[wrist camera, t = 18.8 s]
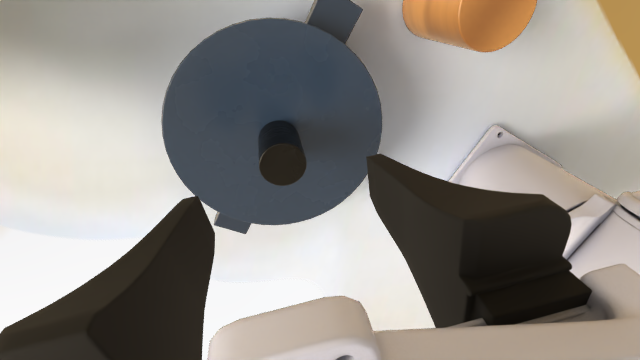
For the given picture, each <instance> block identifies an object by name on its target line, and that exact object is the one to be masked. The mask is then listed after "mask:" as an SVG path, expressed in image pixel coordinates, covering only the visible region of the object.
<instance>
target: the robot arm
mask: <svg viewBox="0 0 640 360" xmlns="http://www.w3.org/2000/svg"><path fill="white" fill-rule="evenodd" d="M498 133H500V134H499V135H498ZM497 135H498V136H497ZM366 159H367V169H368V180H369V191H370V197H371V200H372V202H373V204H374V207H375V209H376V211H377V213H378V215H379V217H380V218H381V220H382V222H383V223H384V225H385V227H386V228H387V230H388V231H389V233H390V235H391V236H392V238H393V239H394V241H395V243H396V244H397V246H398V248H399V249H400V251H401V252H402V254H403V256H404V258H405V260H406V262H407V264H408V266H409V268H410V270H411V272H412V274H413V276H414V279H415V281H416V283H417V285H418V287H419V290H420V292H421V294H422V296H423V299H424V301H425V303H426V305H427V308H428V310H429V313H430V315H431V317H432V320H433V322H434V324H435V327H436V328H429V329H407V330H385V331H373V330H372V327H371V324H370V321H369V318H368V315H367V313H366V311H365V309H364V308H363V306H362V304H361V303H360V302H359V301H356V300H353V299H351V298H348V297H345V296H334V297H323V298H320V299H316V300H312V301H308V302H305V303H300V304H297V305H293V306H289V307H285V308H281V309H277V310H273V311H270V312H266V313H262V314H259V315H254V316H250V317H246V318H243V319H239V320H237V321H234V322H232V323H230V324H228V325H226V326H224V327H222V328H220V329H219V331H217V333H216V334H215V336H213V338H212V339H211V340H210V343H209V351H208V358H207V360H640V191H636V192H632V193H631V192H624V193H622V194H621V195H620V196H619V197H618V198H617V199H614V198H613V197H611V196H609V195H607V194H606V193H604V192H602V191H600V190H598V189H597V188H595V187H593V186H591V185H590V184H588V183H586V182H584V181H582V180H581V179H579V178H577V177H575V176H574V175H572V174H570V173H568V172H566V171H565V170H563V169H562V165H561V164H559V163H558V162H556V161H555V160H553V159H551V158H550V157H548V156H546V155H545V154H543V153H542V152H540V151H538V150H537V149H535V148H534V147H532V146H530V145H529V144H527V143H525V142H524V141H522V140H521V139H519V138H517V137H516V136H514V135H512V134H511V133H509V132H508V131H506V130H504V129H503V128H501V127H499V126H497V125H494V126H492V127H491V128H490V129H489V130H488V131H487V133H486V134H485V135H484V136H483V138H482V139H481V140H480V141H479V143H478V144H477V145H476V147H475V148H474V149H473V150H472V152H471V153H470V154H469V156H468V157H467V158H466V159H465V161H464V162H463V163H462V164H461V166H460V167H459V168H458V170H457V171H456V172H455V173H454V175H453V176H452V177H451V179H450V180H449V181H445V180H441V179H438V178H435V177H432V176H430V175H427V174H424V173H422V172H419V171H417V170H414V169H412V168H410V167H408V166H406V165H403V164H401V163H399V162H397V161H395V160H393V159H391V158H389V157H387V156H384V155H382V154H377V155H373V156H368V157H366ZM214 248H215V233H214V230H213V228H212V226H211V224H210V221H209V219H208V217H207V215H206V213H205V210H204V208H203V206H202V204H201V201H200V199H199V197H198V196H195V197H190V198H186V199H183V200H182V201H180V202H179V203H178V204H177V205H176V206H175V207H174V208H173V209H172V210H171V211H170V212H169V213H168V214H167V215H166V216H165V217H164V218H163V219H162V220H161V221H160V222H159V223H158V224H157V225H156V226H155V227H154V228H153V229H152V230H151V231H150V232H149V233H148V234H147V235H146V236H145V237H144V238H143V239H142V240H141V241H140V242H139V243H138V244H136V245H135V246H134V247H133V248H132V249H131V250H130V251H129V252H127V253H126V254H125V255H124V256H122V257H121V258H120V259H119V260H117V261H116V262H115V263H113V264H112V265H111V266H110V267H108V268H107V269H105V270H104V271H102V272H101V273H100V274H98V275H97V276H95V277H94V278H92V279H91V280H89V281H88V282H87V283H85V284H84V285H82V286H80V287H79V288H77V289H76V290H74V291H72V292H71V293H69V294H67V295H66V296H64V297H62V298H61V299H59V300H57V301H56V302H54V303H52V304H50V305H48V306H47V307H45V308H43V309H41V310H39V311H37V312H35V313H33V314H31V315H29V316H28V317H26V318H24V319H22V320H20V321H18V322H16V323H14V324H12V325H10V326H8V327H6V328H4V330H3V331H2V332H1V333H0V360H202V339H203V322H204V308H205V302H206V296H207V291H208V285H209V280H210V275H211V270H212V264H213V258H214Z"/></svg>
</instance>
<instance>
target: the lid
mask: <svg viewBox="0 0 640 360" xmlns="http://www.w3.org/2000/svg"><path fill="white" fill-rule="evenodd" d="M381 133H382V112H381V104H380V100H379V96H378V92H377V89H376V87H375V84H374V82H373V80H372V77H371V76H370V74H369V72H368V71H367V69H366V67H365V66H364V64H363V63H362V62H361V61H360V59H359V58H358V57H357V56H356V54H355V53H354V52H353V51H352V50H350V49H349V48H348V47H347V46H346V45H345V44H344V43H343V42H341V41H340V40H338V39H337V38H336V37H334V36H333V35H331V34H329V33H327V32H325V31H323V30H321V29H319V28H317V27H315V26H312V25H309V24H307V23H304V22H301V21H296V20H290V19H285V18H260V19H251V20H247V21H243V22H239V23H235V24H232V25H230V26H228V27H225V28H223V29H221V30H218V31H217V32H215V33H214V34H212V35H210V36H209V37H207V38H206V39H204V40H203V41H202V42H201V43H200V44H198V45H197V46H196V47H195V48H194V49H193V50H191V51H190V53H189V54H188V55H187V56H186V57H185V58H184V60H183V61H182V62H181V63H180V65H179V66H178V68H177V70H176V71H175V73H174V75H173V76H172V78H171V81H170V83H169V86H168V88H167V91H166V94H165V99H164V103H163V109H162V134H163V139H164V144H165V148H166V151H167V154H168V157H169V159H170V162H171V164H172V166H173V167H174V169H175V171H176V173H177V175H178V176H179V177H180V179H181V180H182V182H183V183H184V184H185V186H186V187H187V188H188V189H189V190H190V191H191V192H192V193H193V194H194V195H195V196H198V197H199V199H200V200H201V201H202V202H204V203H205V204H206V205H208V206H210V207H211V208H213V209H214V210H216V211H218V212H220V213H222V214H224V215H226V216H229V217H231V218H234V219H237V220H240V221H244V222H248V223H254V224H261V225H283V224H291V223H296V222H301V221H304V220H308V219H311V218H314V217H316V216H318V215H321V214H323V213H325V212H327V211H329V210H330V209H332V208H334V207H335V206H337V205H338V204H340V203H341V202H342V201H344V200H345V199H346V198H347V197H348V196H349V195H351V194H352V192H353V191H354V190H355V189H356V188H357V187H358V186H359V185H360V183H361V182H362V181H363V179H364V178H365V177H366V175H367V173H368V169H367V159H366V157H368V156H373V155H377V152H378V148H379V145H380V140H381Z"/></svg>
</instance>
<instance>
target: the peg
mask: <svg viewBox="0 0 640 360" xmlns="http://www.w3.org/2000/svg"><path fill="white" fill-rule="evenodd" d="M536 3H537V0H403V18H404V21H405V24H406V26H407V27H408V29H409V30H410V31H411V32H412V33H413V34H414V35H416V36H418V37H421V38H425V39H429V40H433V41H437V42H442V43H446V44H450V45H454V46H458V47H462V48H466V49H470V50H474V51H478V52H492V51H496V50H499V49H501V48H503V47H505V46H507V45H508V44H510V43H511V42H512V41H514V40H515V39H516V38H517V37H518V36H519V35H520V34H521V32H522V31H523V30H524V29H525V27H526V26H527V24H528V23H529V21H530V19H531V17H532V15H533V13H534V10H535V7H536Z"/></svg>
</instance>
